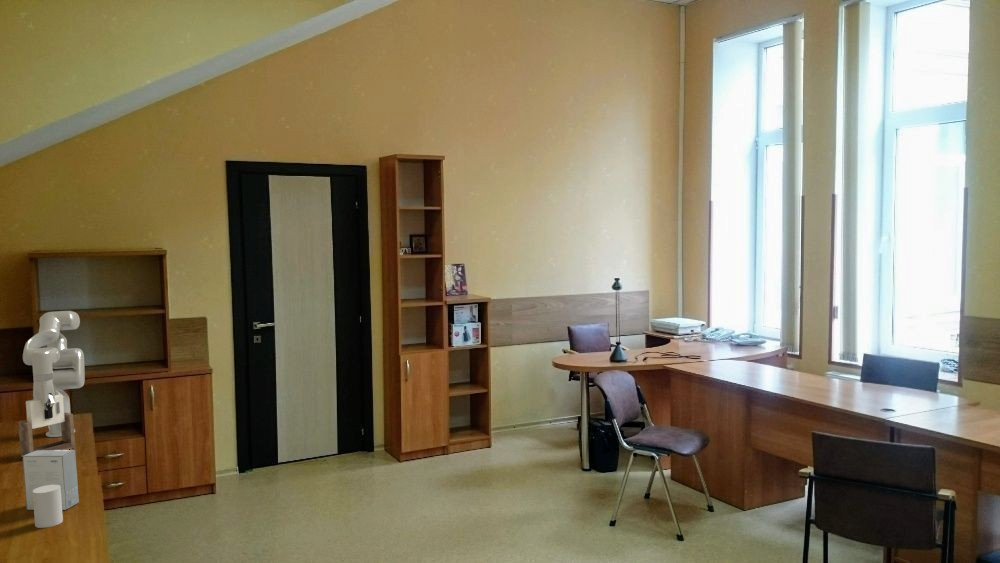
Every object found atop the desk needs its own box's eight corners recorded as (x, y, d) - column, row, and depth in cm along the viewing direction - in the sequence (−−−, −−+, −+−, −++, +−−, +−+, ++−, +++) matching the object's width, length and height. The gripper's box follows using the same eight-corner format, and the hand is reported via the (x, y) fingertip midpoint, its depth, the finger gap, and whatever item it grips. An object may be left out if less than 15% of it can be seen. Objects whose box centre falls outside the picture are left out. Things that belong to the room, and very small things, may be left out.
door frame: (21, 457, 331) (18, 422, 330) (65, 445, 347) (63, 412, 346) (30, 460, 326) (27, 424, 325) (75, 448, 343) (73, 414, 342)
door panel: (27, 427, 331) (25, 401, 330) (60, 420, 343) (58, 394, 342) (32, 428, 328) (30, 402, 328) (65, 421, 340) (63, 395, 340)
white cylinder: (42, 519, 257) (40, 485, 257) (67, 517, 258) (65, 484, 257) (30, 528, 249) (27, 493, 248) (55, 527, 250) (53, 492, 249)
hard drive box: (80, 502, 272) (76, 449, 271) (65, 510, 265) (62, 456, 263) (40, 502, 274) (36, 449, 272) (25, 510, 266) (21, 455, 265)
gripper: (24, 377, 336) (27, 417, 337) (44, 380, 327) (47, 421, 328) (42, 374, 342) (45, 413, 343) (61, 377, 333) (64, 417, 334)
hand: (46, 417), depth 336 cm, fingers closed on door panel, 4 cm apart
